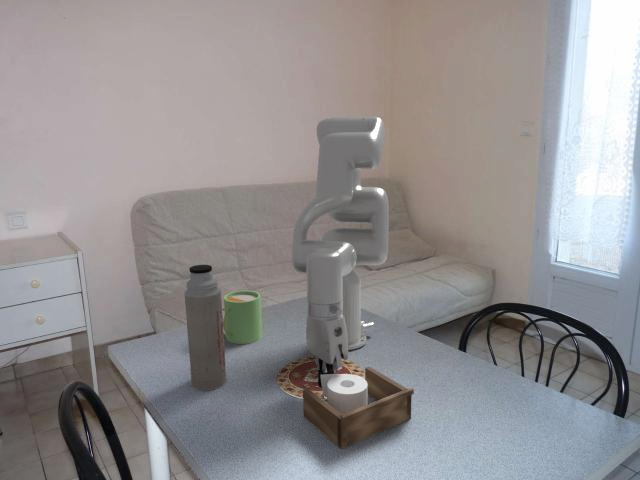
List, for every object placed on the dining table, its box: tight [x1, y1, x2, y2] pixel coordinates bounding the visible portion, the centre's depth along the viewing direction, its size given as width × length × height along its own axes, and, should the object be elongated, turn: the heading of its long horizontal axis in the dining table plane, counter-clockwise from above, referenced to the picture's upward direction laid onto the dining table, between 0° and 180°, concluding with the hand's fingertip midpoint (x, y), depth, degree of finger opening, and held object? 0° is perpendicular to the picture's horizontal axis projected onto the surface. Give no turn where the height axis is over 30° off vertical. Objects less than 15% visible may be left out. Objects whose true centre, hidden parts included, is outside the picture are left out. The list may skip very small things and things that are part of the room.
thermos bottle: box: [184, 264, 227, 392], centre depth 116 cm, size 8×8×28 cm
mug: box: [222, 290, 263, 345], centre depth 142 cm, size 13×10×12 cm
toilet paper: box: [320, 373, 369, 415], centre depth 104 cm, size 8×11×7 cm
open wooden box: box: [302, 366, 415, 450], centre depth 102 cm, size 17×14×7 cm
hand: (326, 386), depth 112 cm, fingers closed
